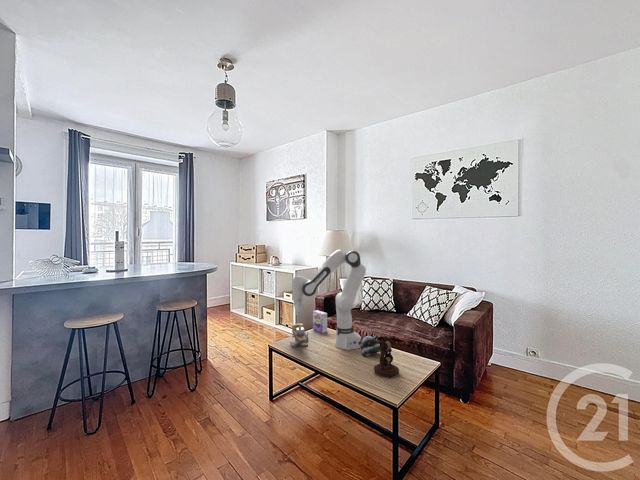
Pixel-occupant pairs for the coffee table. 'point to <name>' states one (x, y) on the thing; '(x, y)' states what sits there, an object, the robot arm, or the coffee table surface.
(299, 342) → the grey gold rectangular frame
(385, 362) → the brown statuette
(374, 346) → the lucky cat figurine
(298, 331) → the rider
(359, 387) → the coffee table surface
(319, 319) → the candy box
